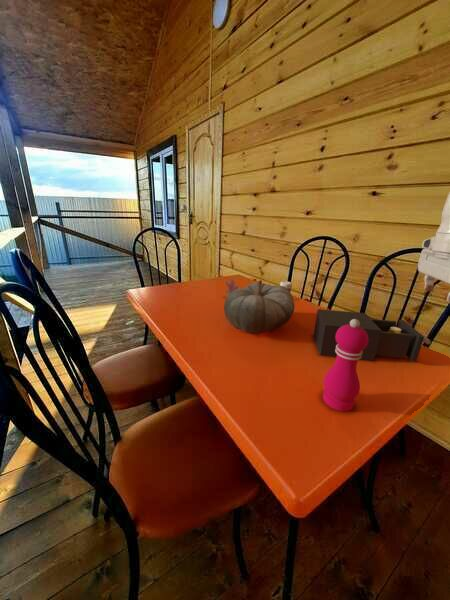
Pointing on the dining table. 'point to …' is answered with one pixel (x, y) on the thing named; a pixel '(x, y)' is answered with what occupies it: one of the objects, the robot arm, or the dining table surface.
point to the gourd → (259, 308)
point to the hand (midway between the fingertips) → (438, 295)
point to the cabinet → (334, 320)
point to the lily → (231, 286)
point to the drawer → (399, 340)
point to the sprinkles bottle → (286, 285)
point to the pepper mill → (345, 367)
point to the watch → (394, 330)
